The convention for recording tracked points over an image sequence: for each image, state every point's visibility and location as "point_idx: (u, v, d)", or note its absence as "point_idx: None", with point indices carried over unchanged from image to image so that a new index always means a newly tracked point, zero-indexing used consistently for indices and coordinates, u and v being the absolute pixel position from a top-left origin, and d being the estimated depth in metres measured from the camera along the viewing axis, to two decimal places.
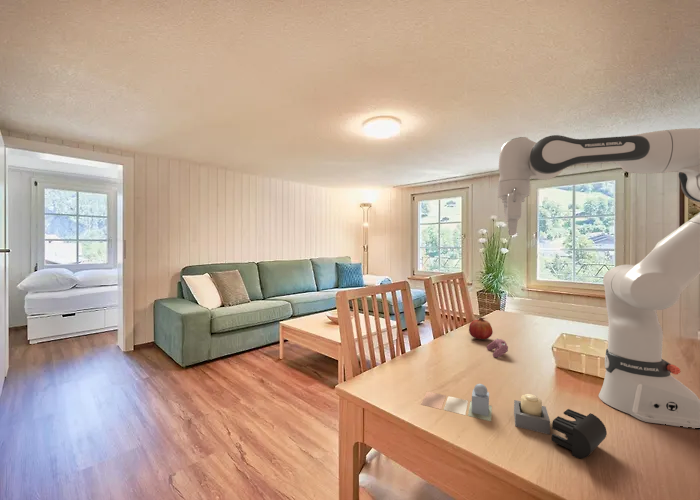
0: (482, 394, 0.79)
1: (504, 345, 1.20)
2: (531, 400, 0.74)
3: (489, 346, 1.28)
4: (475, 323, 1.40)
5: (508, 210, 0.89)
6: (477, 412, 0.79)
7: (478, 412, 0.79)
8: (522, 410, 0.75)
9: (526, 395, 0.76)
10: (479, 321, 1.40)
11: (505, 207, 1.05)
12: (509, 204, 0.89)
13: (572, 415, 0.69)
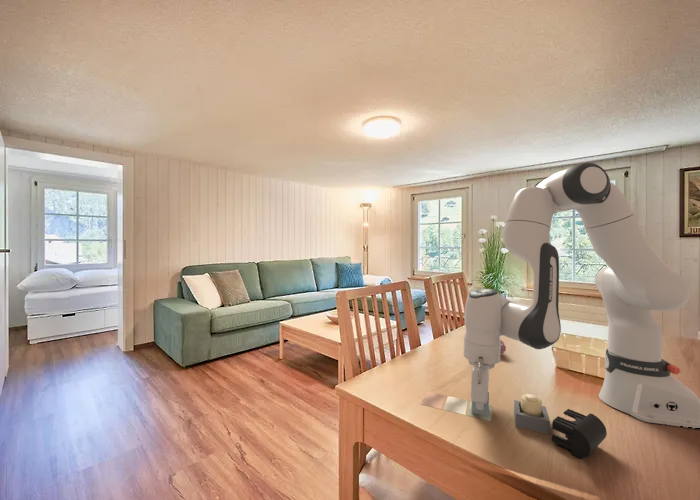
0: None
1: (502, 345, 1.20)
2: (531, 400, 0.74)
3: None
4: None
5: (472, 393, 0.72)
6: (477, 412, 0.79)
7: (478, 412, 0.79)
8: (522, 410, 0.75)
9: (526, 395, 0.76)
10: None
11: None
12: (473, 385, 0.72)
13: (572, 415, 0.69)
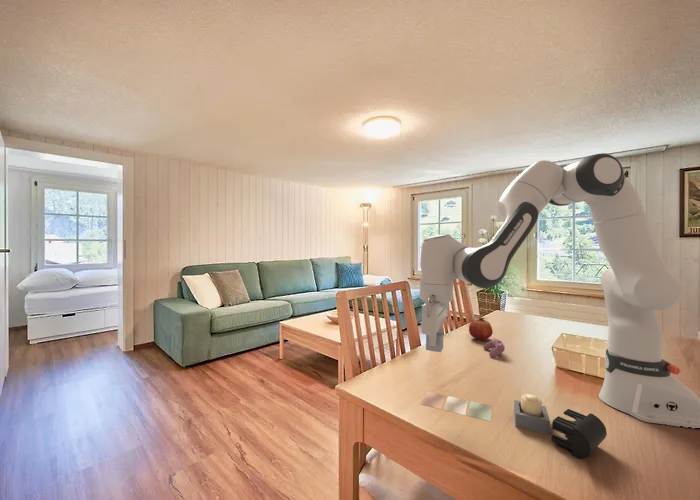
0: None
1: (501, 345, 1.20)
2: (531, 400, 0.74)
3: (486, 346, 1.28)
4: (475, 323, 1.40)
5: (422, 325, 0.77)
6: (431, 349, 0.84)
7: (432, 349, 0.84)
8: (522, 410, 0.75)
9: (526, 395, 0.76)
10: (479, 321, 1.40)
11: None
12: (423, 318, 0.77)
13: (572, 415, 0.69)
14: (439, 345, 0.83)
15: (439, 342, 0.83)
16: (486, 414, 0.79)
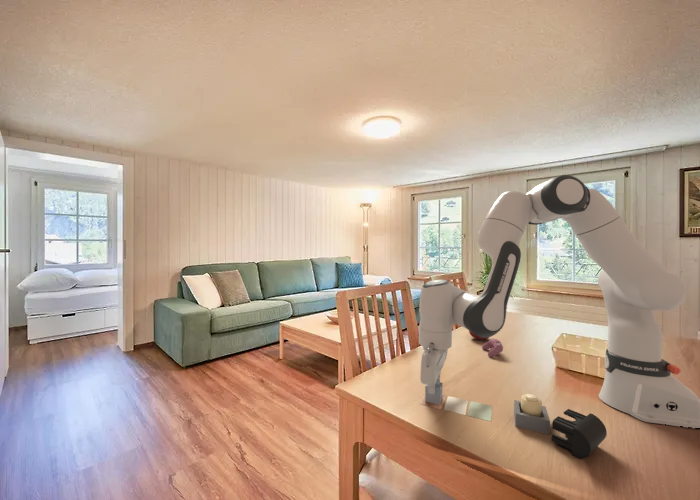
0: (435, 384, 0.84)
1: (499, 345, 1.20)
2: (531, 400, 0.74)
3: (484, 346, 1.28)
4: None
5: (421, 375, 0.77)
6: (430, 401, 0.84)
7: (431, 401, 0.84)
8: (522, 410, 0.75)
9: (526, 395, 0.76)
10: None
11: None
12: (422, 368, 0.77)
13: (572, 415, 0.69)
14: (438, 397, 0.83)
15: (438, 394, 0.83)
16: (486, 414, 0.79)
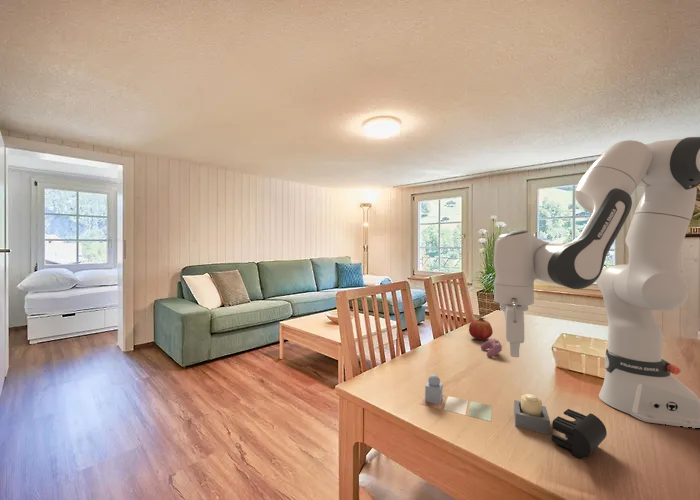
0: (435, 384, 0.84)
1: (498, 345, 1.20)
2: (531, 400, 0.74)
3: (483, 346, 1.28)
4: (475, 323, 1.40)
5: (507, 332, 0.69)
6: (430, 401, 0.84)
7: (431, 401, 0.84)
8: (522, 410, 0.75)
9: (526, 395, 0.76)
10: (479, 321, 1.40)
11: None
12: (508, 325, 0.69)
13: (572, 415, 0.69)
14: (438, 397, 0.83)
15: (438, 394, 0.83)
16: (486, 414, 0.79)
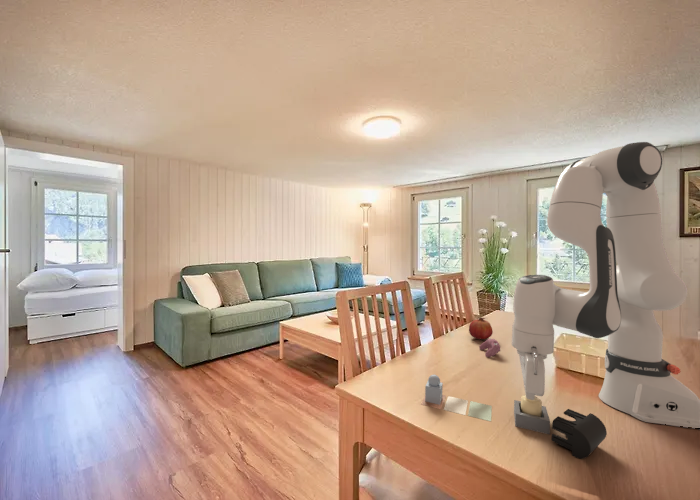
0: (435, 384, 0.84)
1: (496, 345, 1.20)
2: (531, 400, 0.74)
3: (482, 346, 1.28)
4: (475, 323, 1.40)
5: (527, 384, 0.67)
6: (430, 401, 0.84)
7: (431, 401, 0.84)
8: (522, 410, 0.75)
9: None
10: (479, 321, 1.40)
11: None
12: (528, 376, 0.67)
13: (572, 415, 0.69)
14: (438, 397, 0.83)
15: (438, 394, 0.83)
16: (486, 414, 0.79)
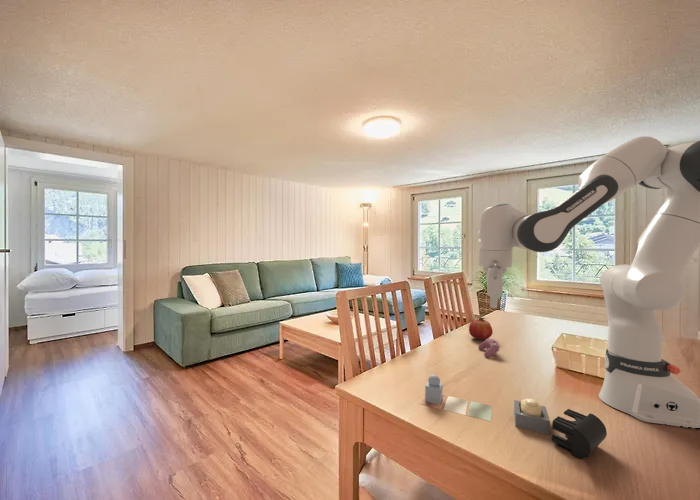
0: (435, 384, 0.84)
1: (495, 345, 1.20)
2: (531, 405, 0.74)
3: (480, 346, 1.28)
4: (475, 323, 1.40)
5: (488, 288, 0.81)
6: (430, 401, 0.84)
7: (431, 401, 0.84)
8: None
9: (526, 400, 0.76)
10: (479, 321, 1.40)
11: (487, 271, 0.97)
12: (489, 281, 0.81)
13: (572, 415, 0.69)
14: (438, 397, 0.83)
15: (438, 394, 0.83)
16: (486, 414, 0.79)
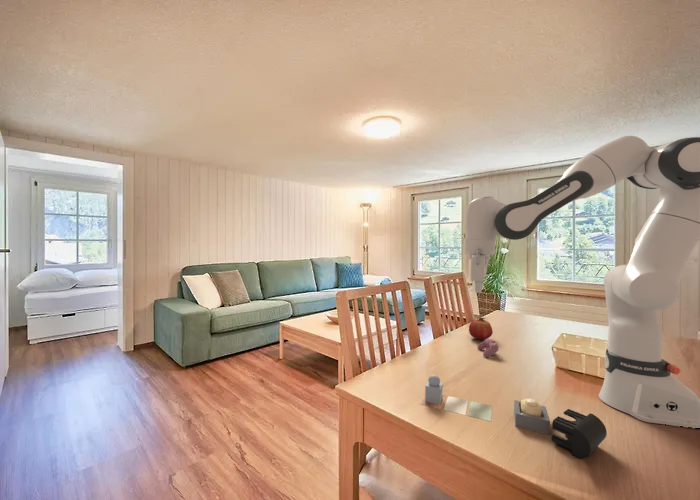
0: (435, 384, 0.84)
1: (494, 345, 1.20)
2: (531, 405, 0.74)
3: (480, 346, 1.28)
4: (475, 323, 1.40)
5: (471, 273, 0.89)
6: (430, 401, 0.84)
7: (431, 401, 0.84)
8: None
9: (526, 400, 0.76)
10: (479, 321, 1.40)
11: None
12: (472, 267, 0.89)
13: (572, 415, 0.69)
14: (438, 397, 0.83)
15: (438, 394, 0.83)
16: (486, 414, 0.79)
